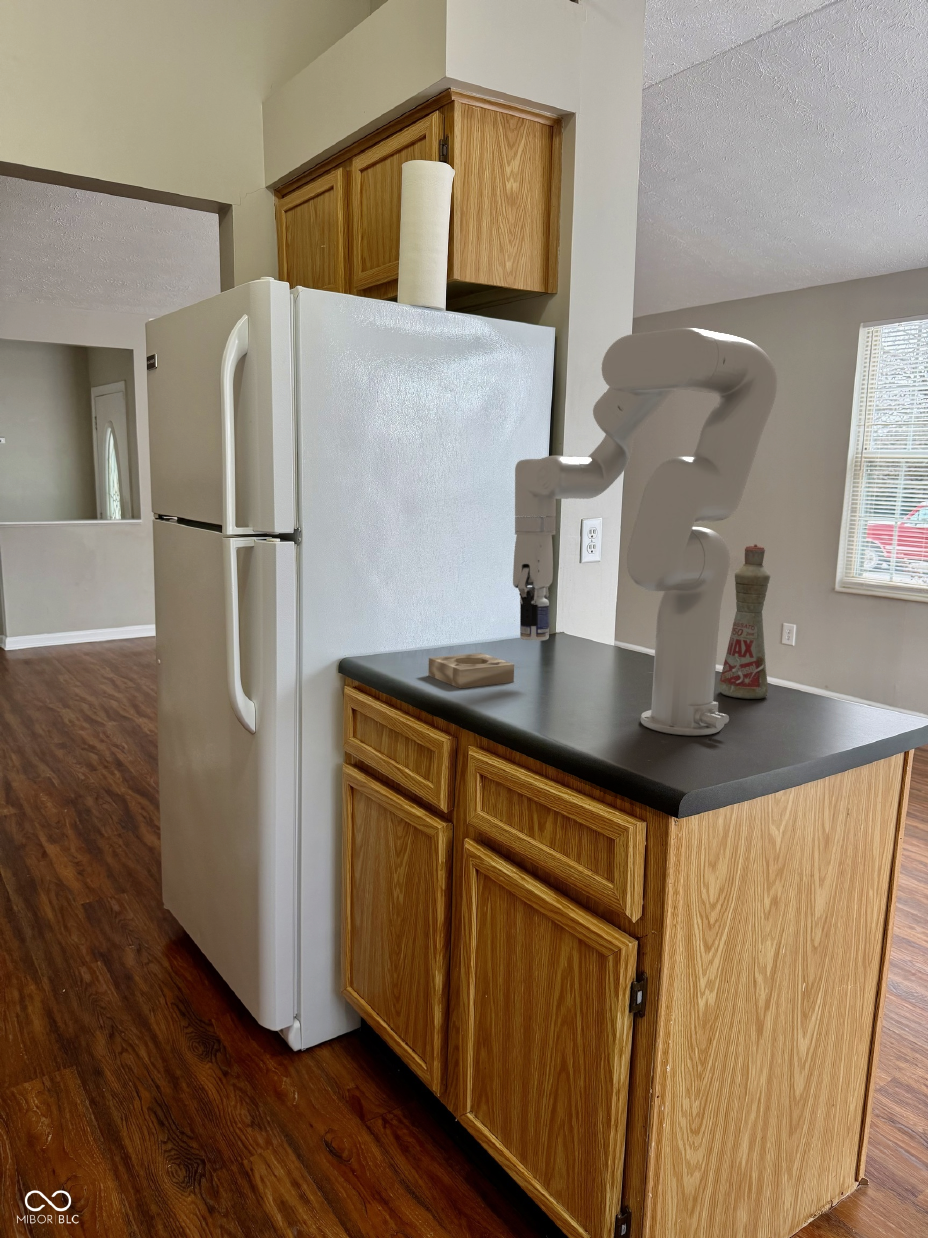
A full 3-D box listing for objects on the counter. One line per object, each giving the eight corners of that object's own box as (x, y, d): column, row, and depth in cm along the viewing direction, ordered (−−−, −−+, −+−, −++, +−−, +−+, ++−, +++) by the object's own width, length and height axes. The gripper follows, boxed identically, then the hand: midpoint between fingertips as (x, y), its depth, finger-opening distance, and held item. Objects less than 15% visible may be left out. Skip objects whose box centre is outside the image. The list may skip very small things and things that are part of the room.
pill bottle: (548, 637, 168) (549, 586, 167) (548, 641, 163) (549, 588, 162) (520, 637, 168) (520, 586, 167) (519, 641, 163) (519, 588, 162)
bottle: (779, 697, 162) (792, 545, 157) (745, 703, 157) (757, 546, 152) (741, 687, 169) (753, 541, 164) (708, 692, 164) (719, 542, 160)
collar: (513, 682, 168) (514, 664, 168) (459, 688, 162) (460, 669, 162) (480, 669, 179) (480, 652, 178) (428, 675, 172) (428, 657, 172)
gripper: (531, 526, 172) (530, 618, 174) (499, 527, 157) (499, 628, 159) (568, 526, 169) (567, 619, 171) (539, 527, 154) (538, 630, 156)
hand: (534, 622), depth 165 cm, fingers closed on pill bottle, 5 cm apart
